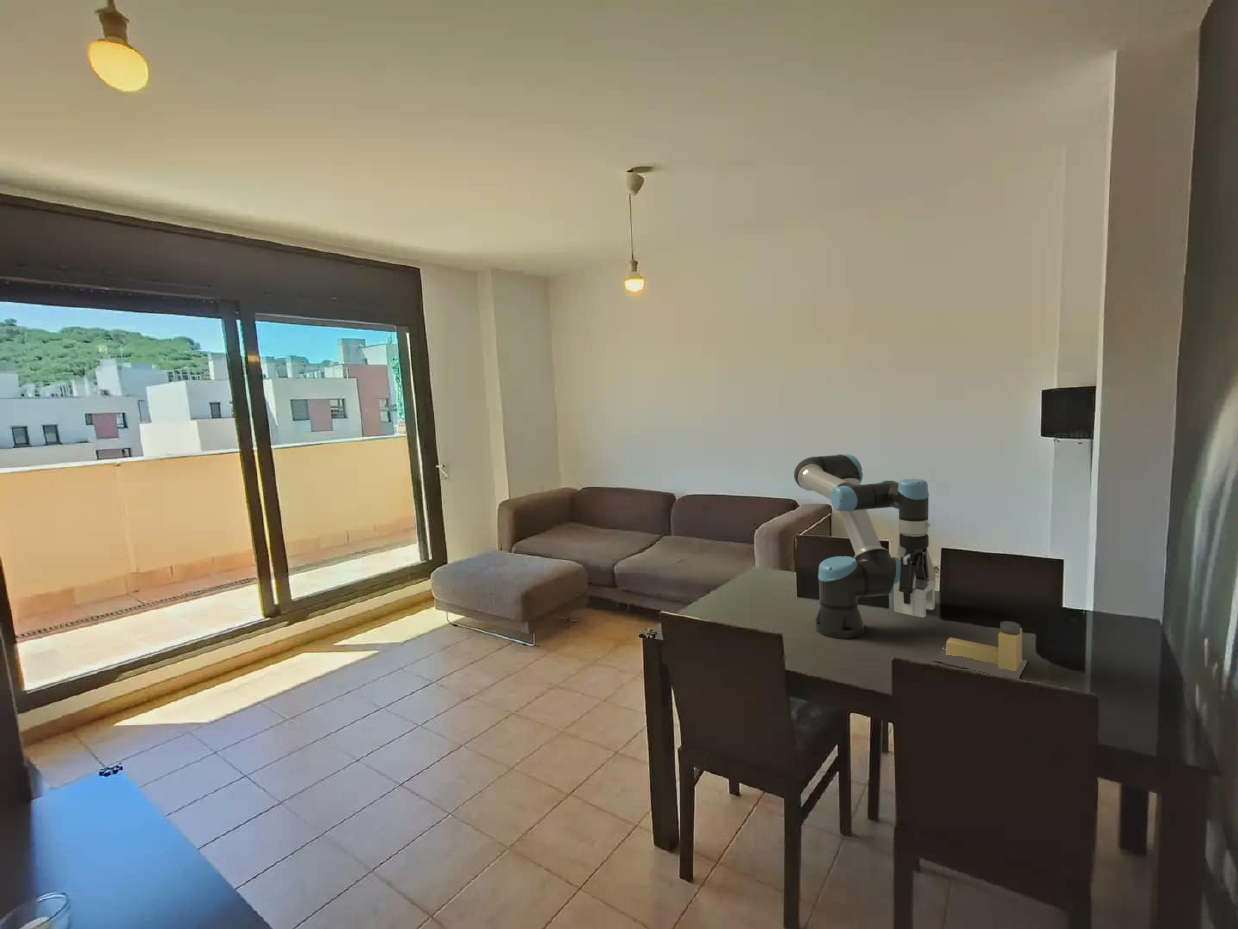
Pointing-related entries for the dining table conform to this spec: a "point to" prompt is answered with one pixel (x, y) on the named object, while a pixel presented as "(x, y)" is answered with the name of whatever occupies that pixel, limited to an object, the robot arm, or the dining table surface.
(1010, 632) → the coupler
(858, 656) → the dining table surface
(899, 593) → the grey slotted block
